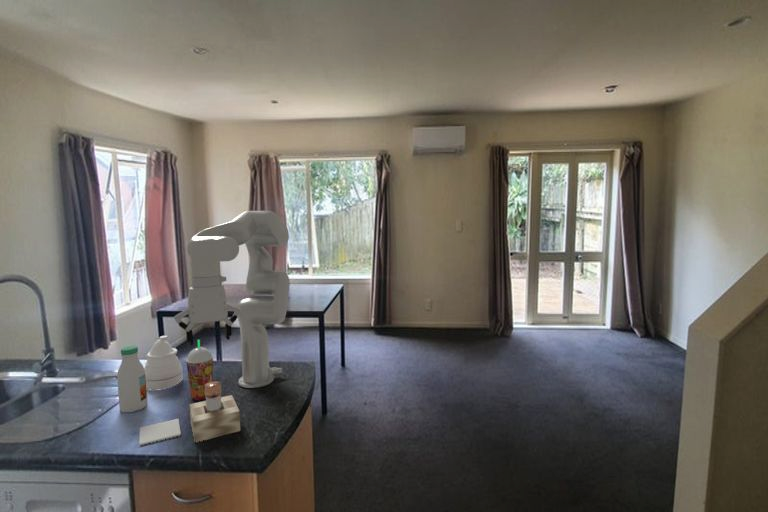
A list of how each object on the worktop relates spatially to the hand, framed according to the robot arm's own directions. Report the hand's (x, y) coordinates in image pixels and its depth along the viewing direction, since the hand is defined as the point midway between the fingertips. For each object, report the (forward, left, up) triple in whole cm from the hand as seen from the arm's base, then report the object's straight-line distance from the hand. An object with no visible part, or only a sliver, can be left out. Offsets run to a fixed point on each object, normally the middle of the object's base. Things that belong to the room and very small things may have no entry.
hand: (209, 341), depth 116 cm
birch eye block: (0, 0, -26) cm, 26 cm away
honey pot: (+12, -44, -26) cm, 53 cm away
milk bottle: (+21, -27, -26) cm, 43 cm away
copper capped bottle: (0, 0, -26) cm, 26 cm away
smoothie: (+1, -24, -26) cm, 36 cm away
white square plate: (+14, -5, -26) cm, 30 cm away
